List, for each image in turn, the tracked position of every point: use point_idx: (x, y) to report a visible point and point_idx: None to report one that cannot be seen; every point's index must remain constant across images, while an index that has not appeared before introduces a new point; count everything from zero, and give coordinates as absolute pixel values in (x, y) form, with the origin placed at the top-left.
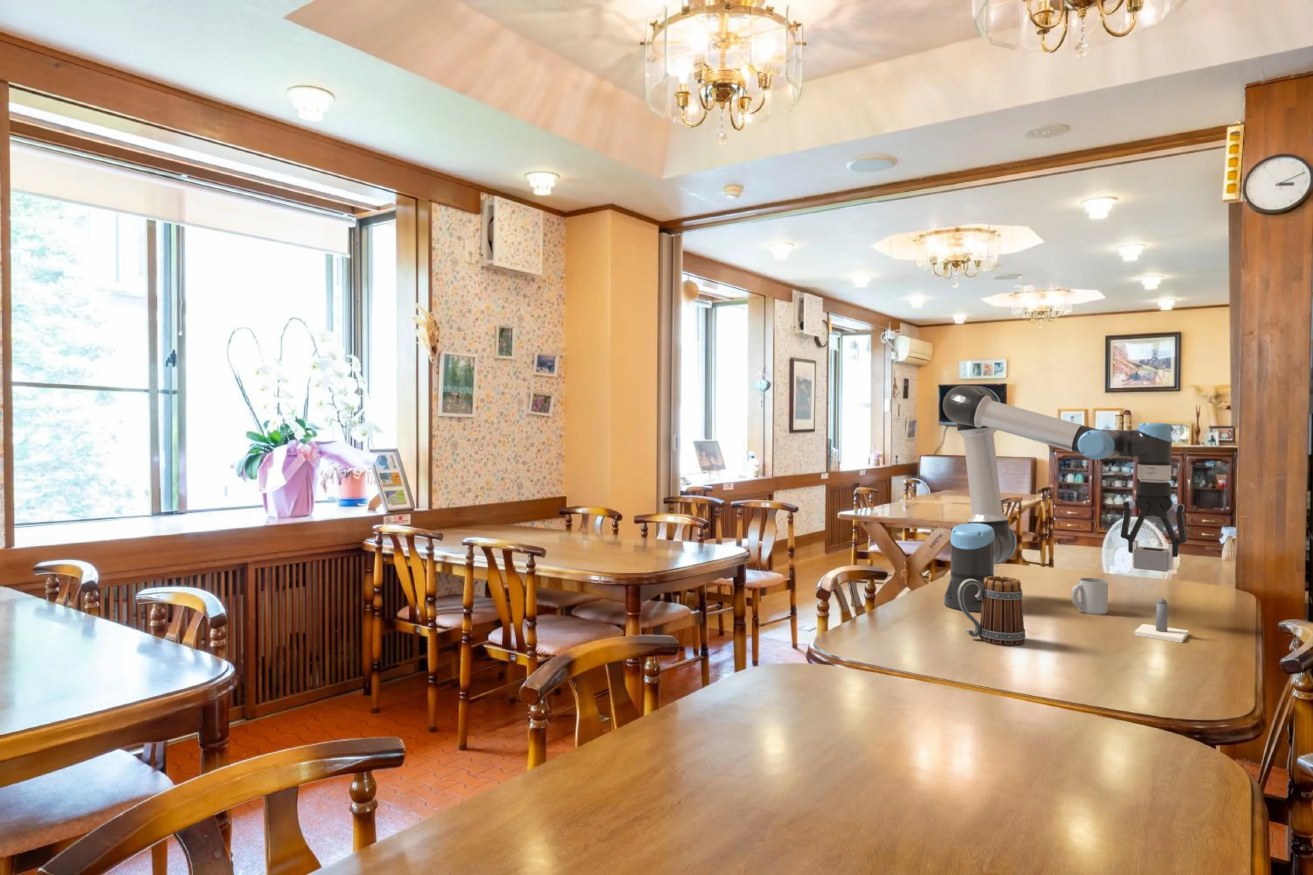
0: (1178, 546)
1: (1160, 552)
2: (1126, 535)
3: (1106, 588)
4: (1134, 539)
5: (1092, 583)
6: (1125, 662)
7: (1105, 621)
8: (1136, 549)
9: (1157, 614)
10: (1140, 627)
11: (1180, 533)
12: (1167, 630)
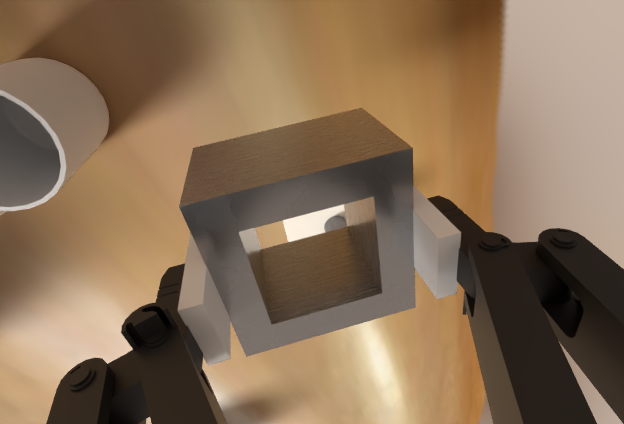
0: (483, 231)
1: (383, 315)
2: (142, 412)
3: (75, 141)
4: (189, 339)
5: (41, 203)
6: (350, 395)
7: (178, 204)
8: (253, 344)
9: None
10: (289, 234)
11: (580, 351)
12: (343, 211)
